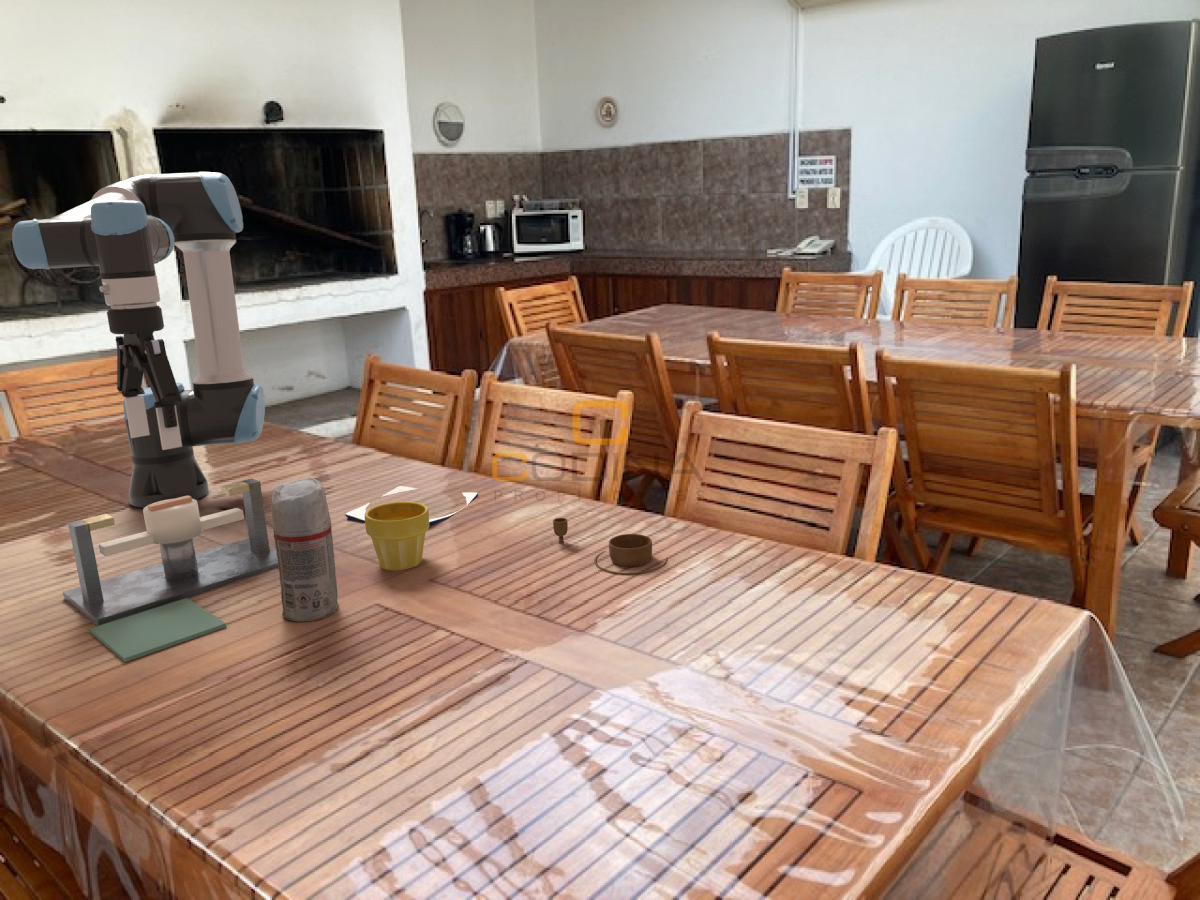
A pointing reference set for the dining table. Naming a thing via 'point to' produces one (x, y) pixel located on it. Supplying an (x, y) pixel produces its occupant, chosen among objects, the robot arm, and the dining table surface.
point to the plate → (360, 512)
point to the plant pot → (398, 533)
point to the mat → (156, 629)
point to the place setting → (618, 548)
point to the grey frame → (169, 565)
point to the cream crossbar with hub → (170, 524)
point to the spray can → (304, 550)
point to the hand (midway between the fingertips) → (155, 442)
